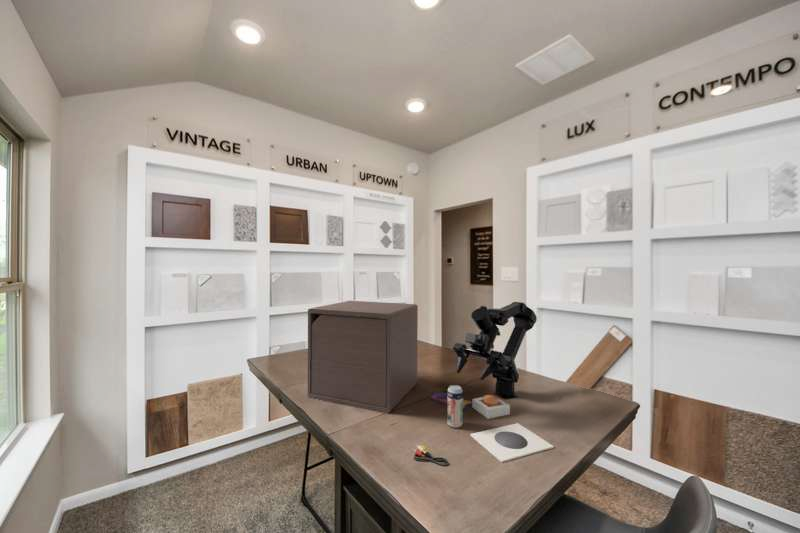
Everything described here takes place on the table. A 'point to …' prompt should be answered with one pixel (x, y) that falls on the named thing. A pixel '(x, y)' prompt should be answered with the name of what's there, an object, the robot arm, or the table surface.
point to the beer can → (455, 406)
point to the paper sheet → (511, 442)
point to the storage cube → (362, 353)
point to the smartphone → (443, 399)
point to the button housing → (491, 408)
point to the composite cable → (427, 456)
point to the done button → (490, 400)
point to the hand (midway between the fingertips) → (468, 375)
